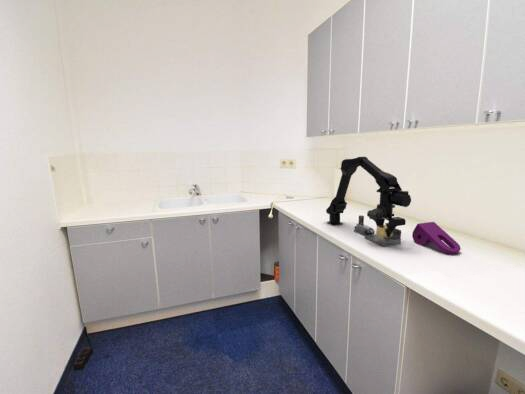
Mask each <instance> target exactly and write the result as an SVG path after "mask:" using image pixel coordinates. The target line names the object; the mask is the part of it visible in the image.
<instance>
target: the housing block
mask: <svg viewBox="0 0 525 394" xmlns="http://www.w3.org/2000/svg"><path fill="white" fill-rule="evenodd" d="M375 232H376V234H375V235H376V236H378V237H380V238H382V239H389V238H392V237H393V232H392V234H391V235H390V237H387V226H386V224H384V225H380V226H377V225H376V231H375Z"/></svg>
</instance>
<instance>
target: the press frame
mask: <svg viewBox="0 0 525 394" xmlns="http://www.w3.org/2000/svg"><path fill="white" fill-rule="evenodd" d="M353 229H354V230H352V231H353V232H355V233H356V234H360V235H361V236H363V237H364V239H366V240H368V241H370V242H372V243H374V244H376V245H378V246H380V247H382V248H384V247H385V248H386V247H392V246H396V245H398V246H399V245H401V242H402V237H401V236H402V230H401V229H398V228H397V227H396V228H395V229H394V230H393V237H392V238H389V239H382V238H380V237H378V236H376V234H375V233H372V232H371V233H366V230H365V229H363V228H360V227H358V226H356V225H354V228H353ZM372 230H373V231H375V229H374V228H372Z"/></svg>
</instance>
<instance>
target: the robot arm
mask: <svg viewBox="0 0 525 394" xmlns="http://www.w3.org/2000/svg"><path fill="white" fill-rule="evenodd" d="M359 167H361V168H362V169H363V170H364V171H366V172H367V173H368V174H369V175H370V176H371V177H373V178H374V180H375V184H377V185H378V187H379V188H378V189H376V191H375V192H377V193H379V194H380V195H379V203H377V205H376V208H373V209H371V210H368V211H367V214H366V216H367V217H368V218H369V220H373V221H374V222H375V224H376V227H377V226H380V225H386V226H387V237H390V235H391V234H392V232H393V230H394V229H395V228H396V229H397V227H399V226H400V227H402V226H405V225H406V222H407V221H406V219H405V218H403V217H400V216H395V213H394V212H393V209H394V208H396V206H398V207H403V208H408V207H409V206H410V205H411V203H412V197H411V195H410V194H409V190H403V188H402V187H401V186H400V184H399V181H398V179H397V177H396V176H395V175H393V174H391V173H389V172H386V171H384V170H382V169H381V168H380V167H378V166H377V165H376V164H375V163H374V162H372V161H371V160H370V159H368V157H367V156H358V157H355V158H345V159H343V160H342V161H341V163H340V171H341V177H340V180H339V184H338V187H337V191H336V195H335V197H334V198H333V199H332V200H331V202H330V203H329V206H328V207H327V208H326V210H325V212H326V214H327V215H329V221H327V223H328V224H329V225H332V226H336V225H337V226H338V225H343V223H342V222H341V214H344V211H345V210H346V209H347V205H348V202H347V201H346V199H345V198H346V194H347V192H348V189H349V185H350V181H351V178H352V176H353V175H354V174H355V173H356V172H357V169H358V168H359ZM385 220H386V221H388V222H386V223H385Z"/></svg>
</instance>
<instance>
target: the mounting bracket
mask: <svg viewBox="0 0 525 394" xmlns="http://www.w3.org/2000/svg"><path fill="white" fill-rule="evenodd" d="M411 234H412V235H411V236H412V239H413V241H414V243H415V244H417V245H419V246H425V245H428V244H430V243H431V244H432V245H433V246H434V247H436V248H437V250H439V251H440V252H442V253H444V254H446V255H451V256H453V255H454V256H455V255H457V254H458V253H459V252H460V251H461V246H460V244H459V243H458V242H457V241H456V240H455V239H454V238H452V237H451V235H449V234H448V233H447V232H446V231H445V230H444V229H443V228H442V227H440V226H439V225H438V224H437V223H436V222H435V221H430V222H429V221H428V222H423V223H422V222H421V223H417V224H416V226H415V228H414V229H413V231H412V233H411Z"/></svg>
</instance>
